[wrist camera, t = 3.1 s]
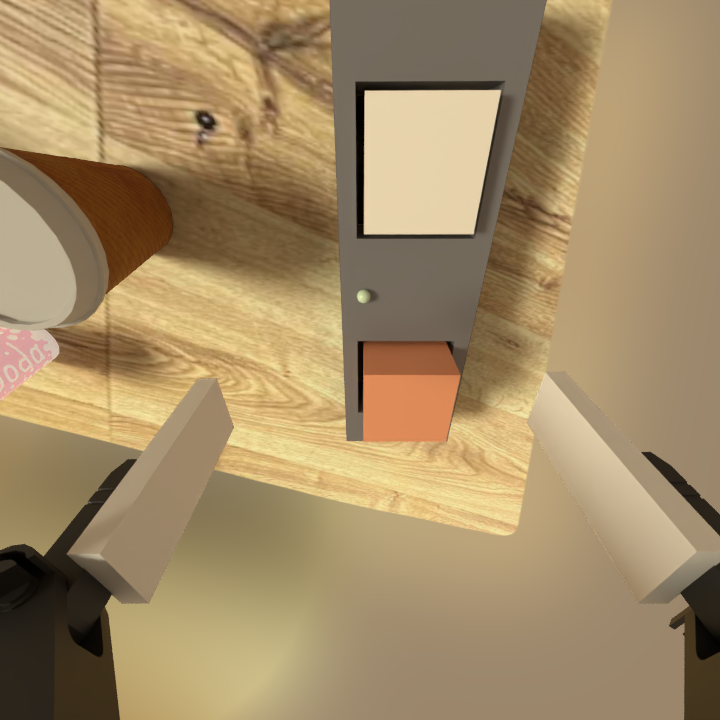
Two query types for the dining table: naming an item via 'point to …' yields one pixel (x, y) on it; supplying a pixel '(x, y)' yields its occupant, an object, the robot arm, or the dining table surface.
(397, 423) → the button orange
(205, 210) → the dining table surface
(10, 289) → the disposable coffee cup
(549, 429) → the robot arm
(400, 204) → the button ivory
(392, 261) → the push button control box
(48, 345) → the beverage cup
